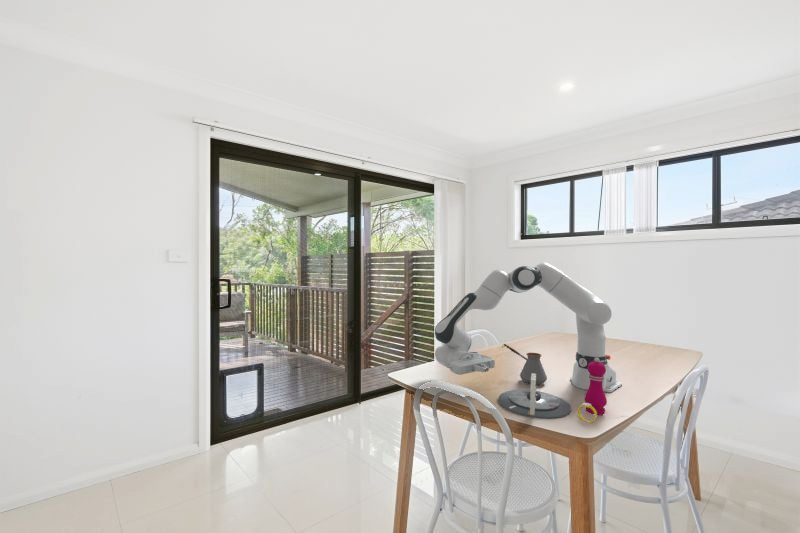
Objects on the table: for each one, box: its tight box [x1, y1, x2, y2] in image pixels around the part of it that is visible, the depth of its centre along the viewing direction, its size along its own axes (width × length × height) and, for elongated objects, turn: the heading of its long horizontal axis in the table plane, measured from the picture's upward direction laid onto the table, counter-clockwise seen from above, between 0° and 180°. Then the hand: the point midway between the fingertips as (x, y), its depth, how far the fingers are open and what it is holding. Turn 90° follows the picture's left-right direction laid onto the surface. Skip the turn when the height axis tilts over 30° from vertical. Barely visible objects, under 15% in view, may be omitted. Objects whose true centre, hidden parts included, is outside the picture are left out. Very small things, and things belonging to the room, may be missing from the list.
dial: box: [509, 373, 559, 415], centre depth 141 cm, size 26×18×13 cm
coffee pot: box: [501, 343, 548, 386], centre depth 174 cm, size 21×12×15 cm, turn 45°
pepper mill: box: [584, 358, 608, 416], centre depth 139 cm, size 7×7×20 cm
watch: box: [577, 402, 598, 423], centre depth 131 cm, size 6×3×6 cm, turn 46°
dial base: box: [498, 389, 572, 420], centre depth 145 cm, size 26×26×1 cm
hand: (486, 369), depth 150 cm, fingers closed
